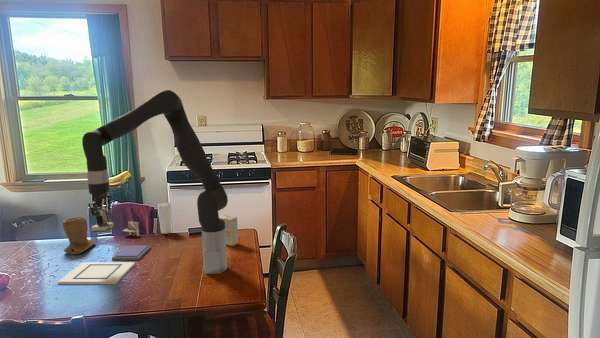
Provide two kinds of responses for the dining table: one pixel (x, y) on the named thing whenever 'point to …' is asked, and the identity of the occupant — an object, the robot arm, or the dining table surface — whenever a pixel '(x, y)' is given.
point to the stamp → (105, 226)
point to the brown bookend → (77, 235)
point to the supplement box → (230, 229)
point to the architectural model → (132, 228)
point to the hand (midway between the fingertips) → (102, 222)
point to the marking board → (97, 273)
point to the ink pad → (131, 253)
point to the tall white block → (165, 217)
